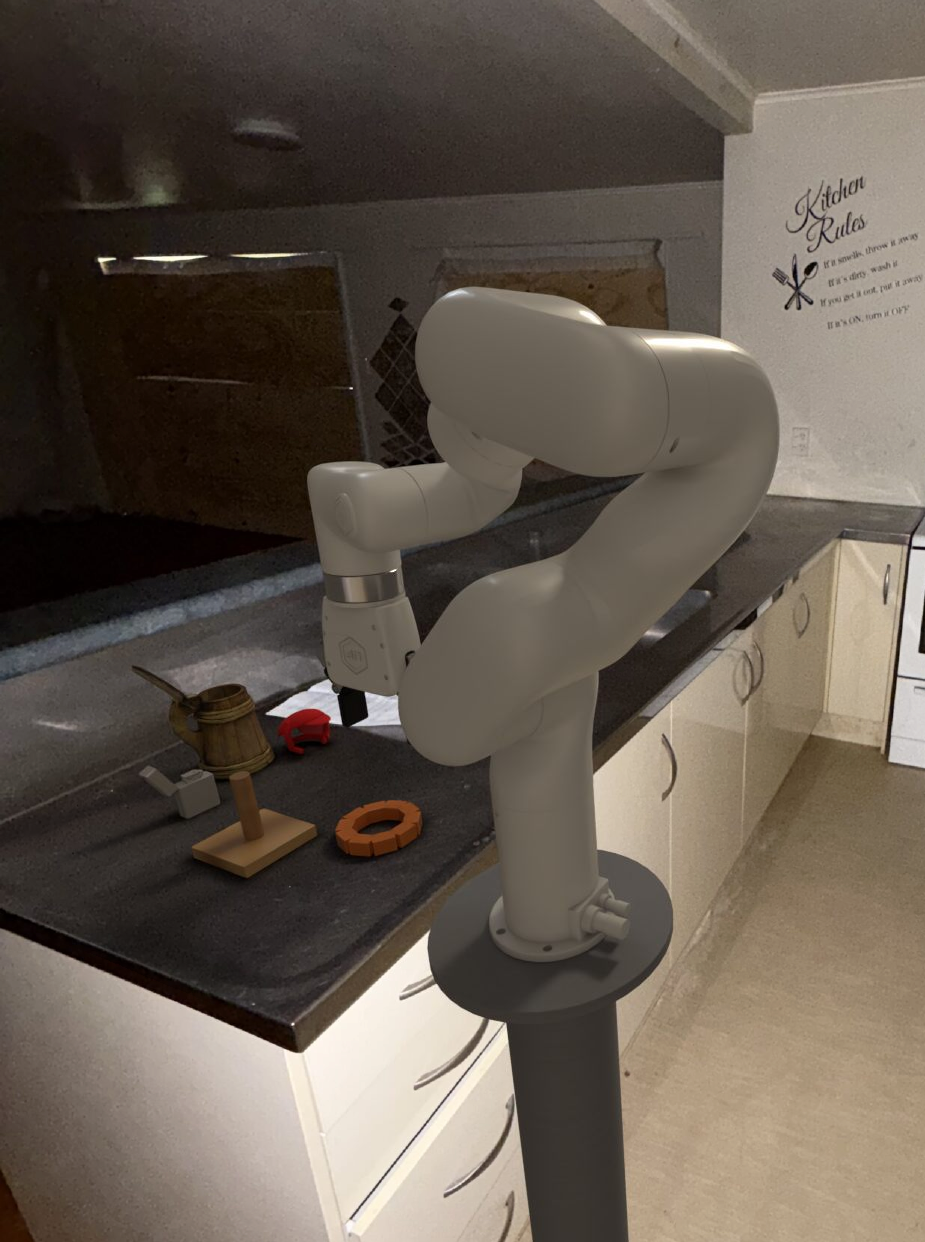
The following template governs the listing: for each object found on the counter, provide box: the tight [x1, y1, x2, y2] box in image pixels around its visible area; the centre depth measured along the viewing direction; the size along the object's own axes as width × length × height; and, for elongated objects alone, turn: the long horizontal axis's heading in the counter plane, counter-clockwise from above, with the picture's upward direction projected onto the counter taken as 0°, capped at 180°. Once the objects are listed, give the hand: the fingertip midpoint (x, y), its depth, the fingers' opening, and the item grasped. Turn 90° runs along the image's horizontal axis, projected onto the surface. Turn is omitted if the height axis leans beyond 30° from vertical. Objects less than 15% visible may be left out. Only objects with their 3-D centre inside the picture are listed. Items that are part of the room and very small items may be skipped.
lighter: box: [138, 765, 221, 819], centre depth 92 cm, size 7×2×8 cm, turn 153°
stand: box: [190, 771, 318, 879], centre depth 86 cm, size 9×9×10 cm
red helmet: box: [276, 708, 332, 755], centre depth 110 cm, size 8×6×6 cm
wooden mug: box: [131, 664, 275, 781], centre depth 101 cm, size 9×14×18 cm, turn 148°
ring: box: [334, 799, 423, 857], centre depth 90 cm, size 9×10×2 cm
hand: (387, 731), depth 84 cm, fingers open, 9 cm apart
